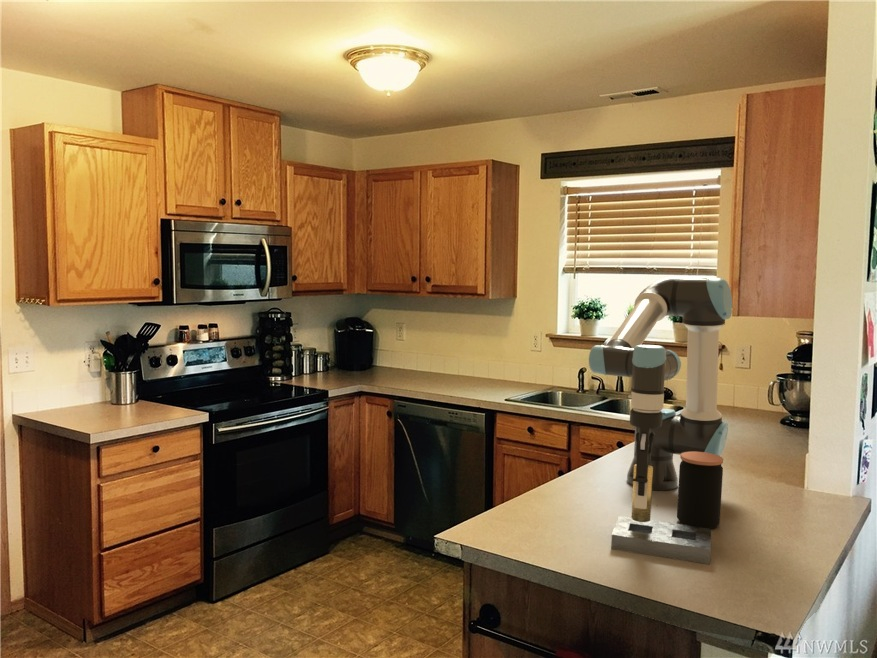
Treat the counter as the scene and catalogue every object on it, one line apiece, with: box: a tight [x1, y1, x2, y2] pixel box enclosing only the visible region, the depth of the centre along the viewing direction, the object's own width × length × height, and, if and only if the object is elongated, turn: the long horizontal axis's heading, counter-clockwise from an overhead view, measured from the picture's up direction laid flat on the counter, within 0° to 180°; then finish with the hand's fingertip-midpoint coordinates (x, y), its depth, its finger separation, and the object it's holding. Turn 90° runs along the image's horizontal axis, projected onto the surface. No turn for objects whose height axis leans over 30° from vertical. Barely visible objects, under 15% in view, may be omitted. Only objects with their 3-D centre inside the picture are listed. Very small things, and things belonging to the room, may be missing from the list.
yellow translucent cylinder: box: [631, 464, 653, 522], centre depth 174 cm, size 4×4×13 cm
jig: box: [610, 515, 712, 565], centre depth 173 cm, size 14×22×4 cm, turn 69°
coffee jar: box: [676, 452, 724, 530], centre depth 188 cm, size 11×11×18 cm
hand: (641, 504), depth 174 cm, fingers closed on yellow translucent cylinder, 4 cm apart
